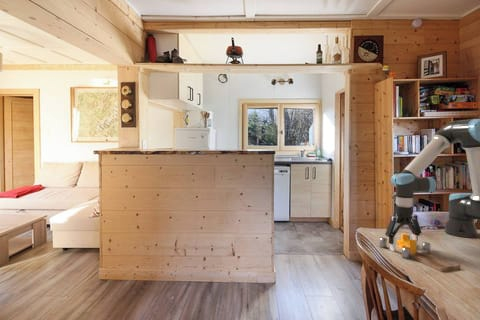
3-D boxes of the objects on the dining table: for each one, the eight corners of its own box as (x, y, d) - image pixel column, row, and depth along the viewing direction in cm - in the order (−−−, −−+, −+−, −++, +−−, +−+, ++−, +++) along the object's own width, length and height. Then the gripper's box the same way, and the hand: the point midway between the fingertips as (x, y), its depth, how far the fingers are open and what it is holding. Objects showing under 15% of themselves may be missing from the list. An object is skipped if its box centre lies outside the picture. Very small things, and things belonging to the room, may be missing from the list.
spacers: (406, 243, 158) (406, 234, 157) (436, 255, 140) (436, 245, 140) (378, 246, 153) (378, 237, 153) (405, 259, 136) (406, 249, 136)
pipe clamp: (397, 245, 154) (397, 233, 154) (406, 246, 154) (406, 233, 153) (406, 254, 143) (406, 241, 142) (416, 254, 142) (416, 241, 141)
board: (427, 254, 141) (427, 251, 141) (460, 268, 126) (460, 265, 126) (409, 257, 138) (409, 254, 138) (441, 271, 123) (441, 268, 123)
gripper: (418, 202, 154) (416, 244, 155) (377, 205, 147) (376, 249, 149) (431, 205, 147) (429, 249, 148) (389, 208, 140) (388, 254, 142)
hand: (403, 249), depth 148 cm, fingers open, 12 cm apart
